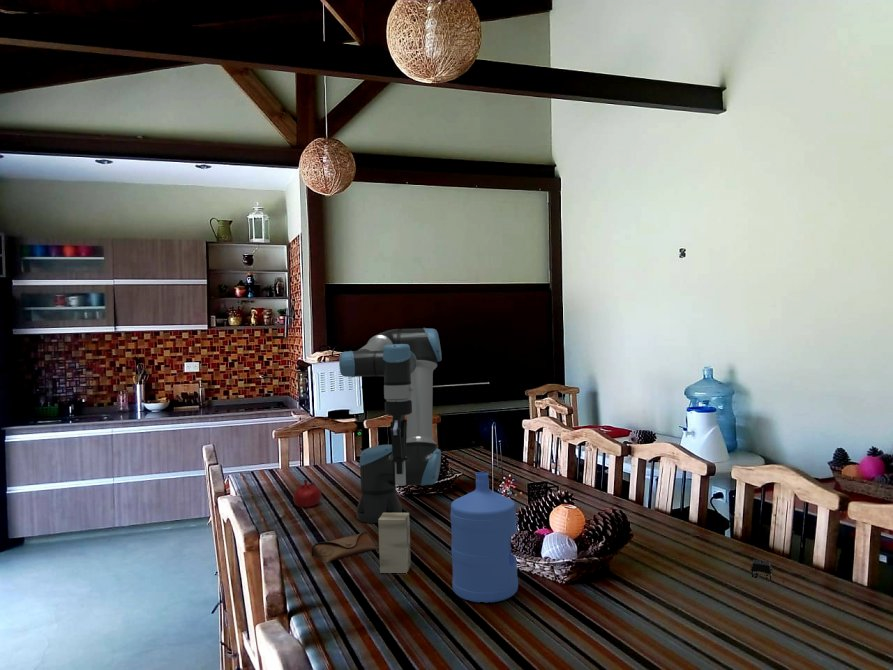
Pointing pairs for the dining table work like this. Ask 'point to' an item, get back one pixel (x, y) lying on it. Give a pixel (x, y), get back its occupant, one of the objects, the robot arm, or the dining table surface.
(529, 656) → the dining table surface
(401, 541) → the cream and teal box
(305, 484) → the pomegranate
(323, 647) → the dining table surface
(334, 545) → the sunglasses case
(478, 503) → the water jug
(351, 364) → the robot arm
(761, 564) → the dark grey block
